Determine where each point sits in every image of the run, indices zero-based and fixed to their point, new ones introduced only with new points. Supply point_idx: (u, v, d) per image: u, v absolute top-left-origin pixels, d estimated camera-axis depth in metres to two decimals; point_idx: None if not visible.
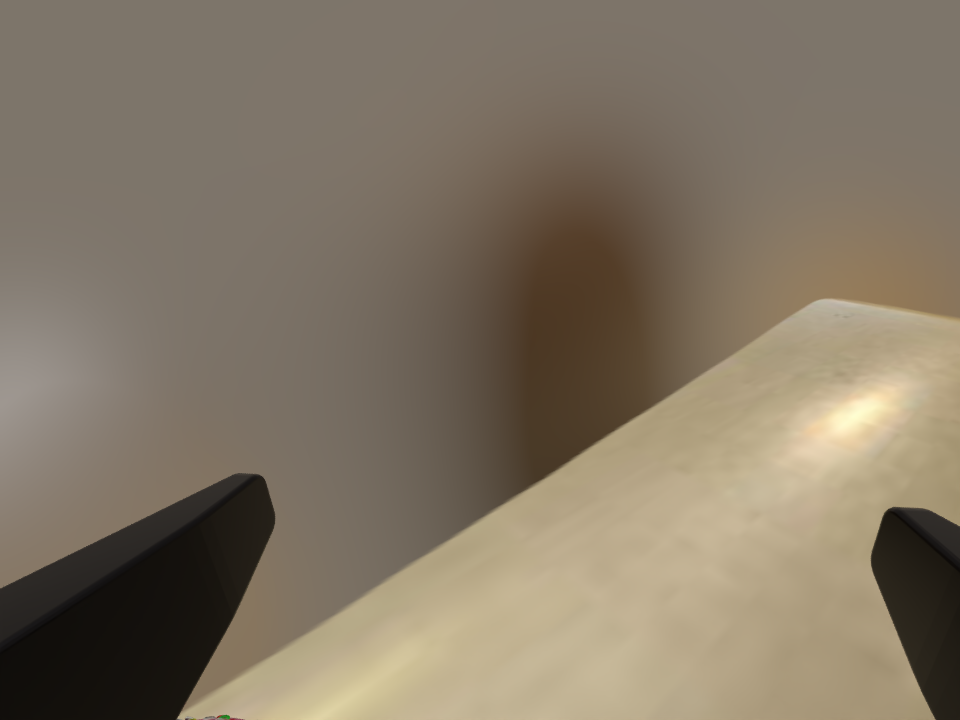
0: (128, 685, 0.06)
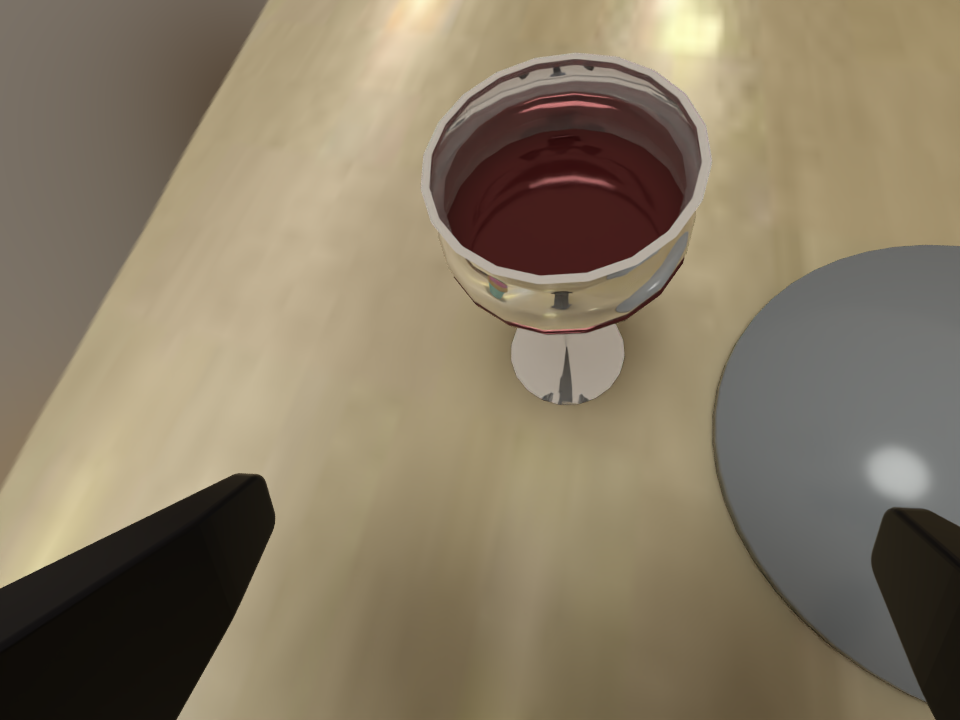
0: (128, 685, 0.06)
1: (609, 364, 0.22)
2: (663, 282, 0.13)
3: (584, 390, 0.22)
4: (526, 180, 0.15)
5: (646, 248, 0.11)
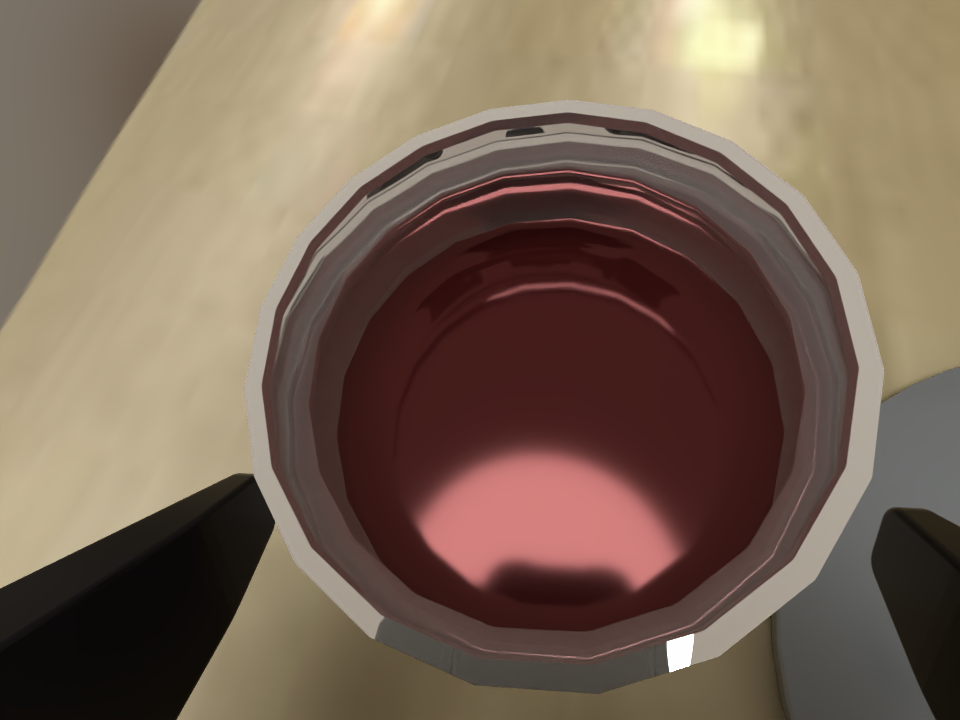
0: (128, 685, 0.06)
1: None
2: None
3: None
4: (484, 313, 0.09)
5: (740, 610, 0.04)
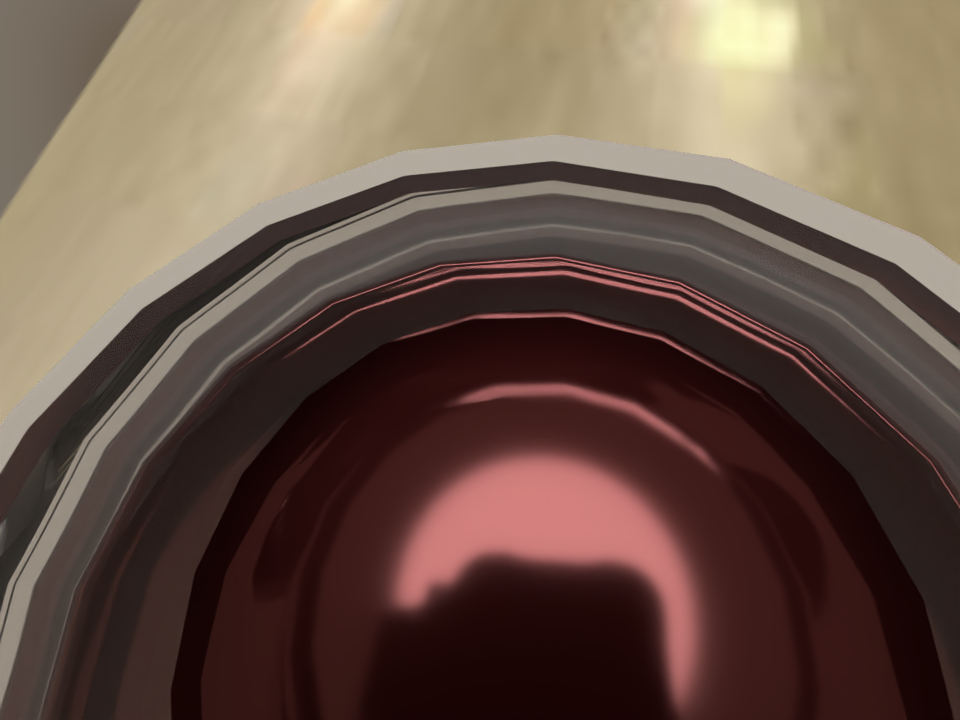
0: None
1: None
2: None
3: None
4: (423, 473, 0.05)
5: None
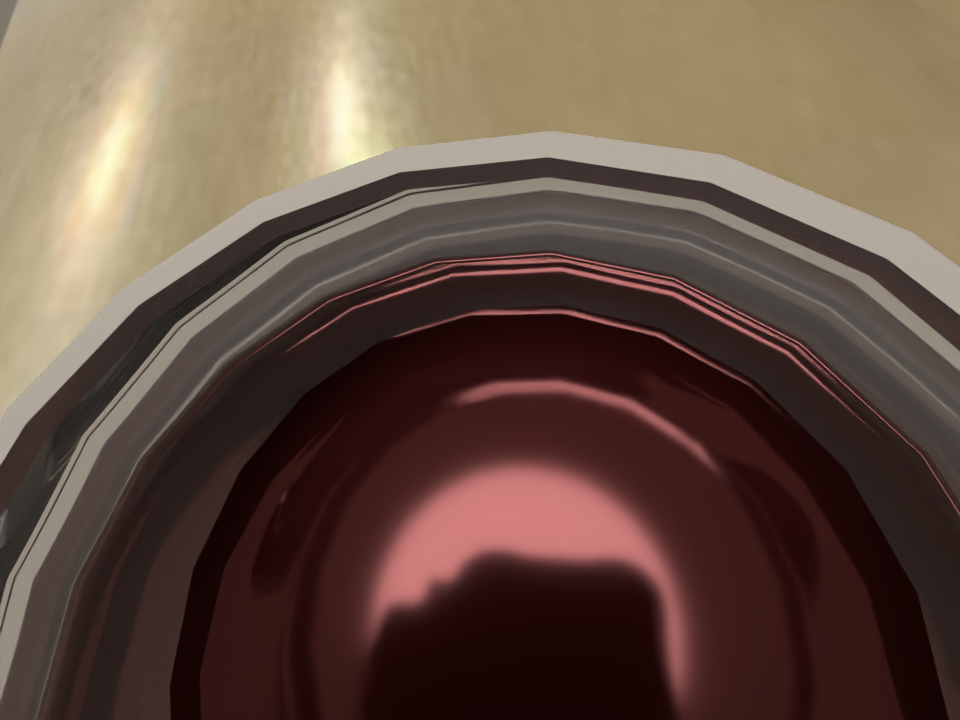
0: None
1: None
2: None
3: None
4: (419, 468, 0.05)
5: None
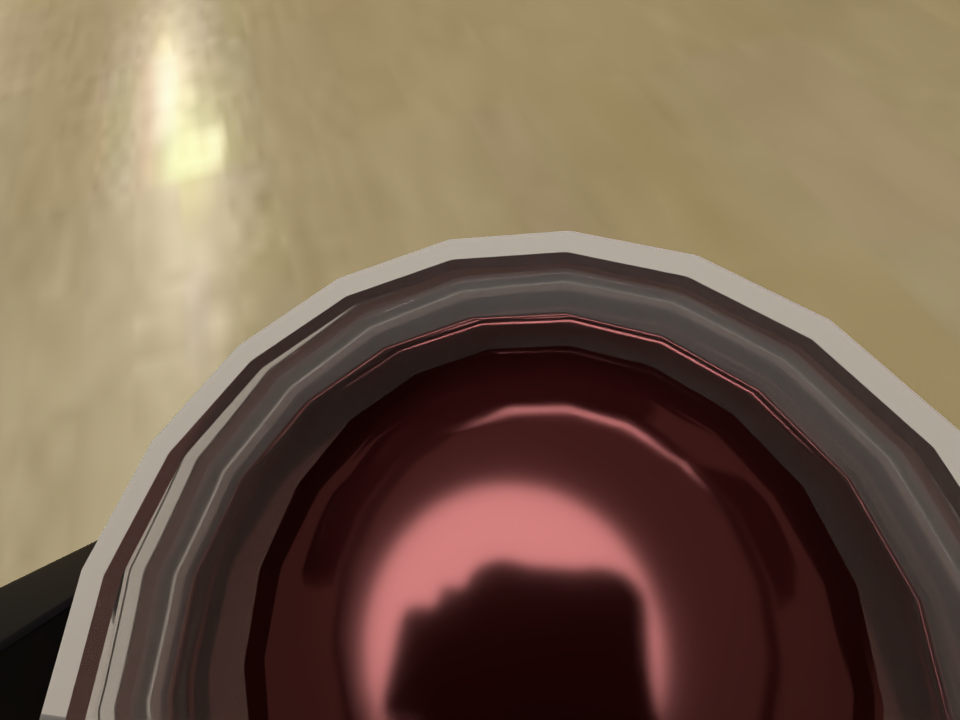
0: None
1: None
2: None
3: None
4: (452, 484, 0.06)
5: None
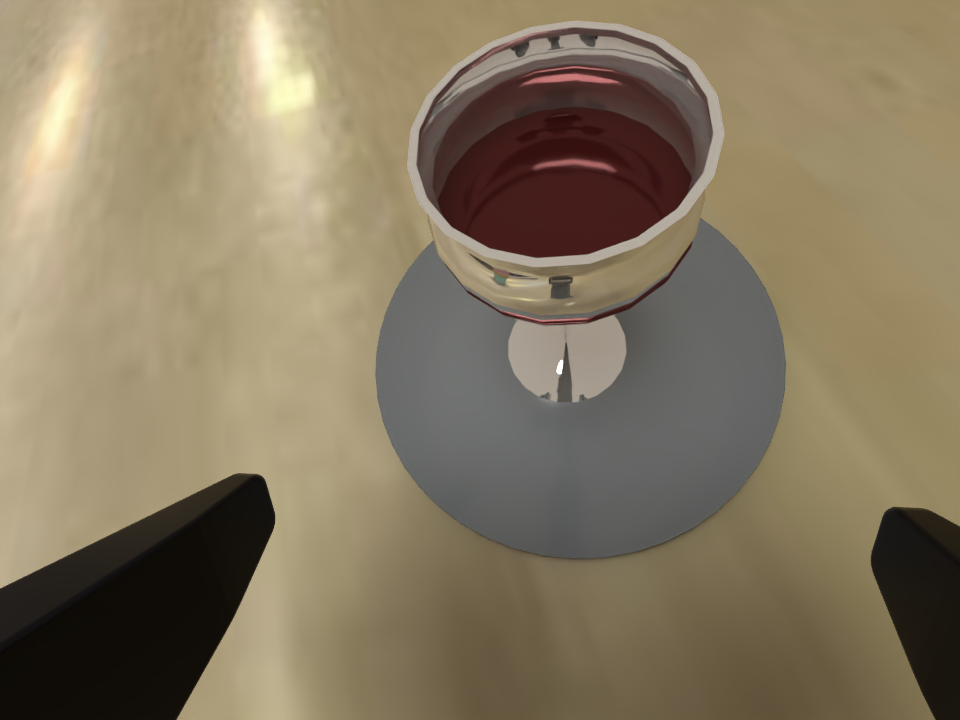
0: (128, 685, 0.06)
1: (610, 360, 0.21)
2: (670, 267, 0.12)
3: (584, 388, 0.21)
4: (523, 161, 0.14)
5: (653, 227, 0.10)
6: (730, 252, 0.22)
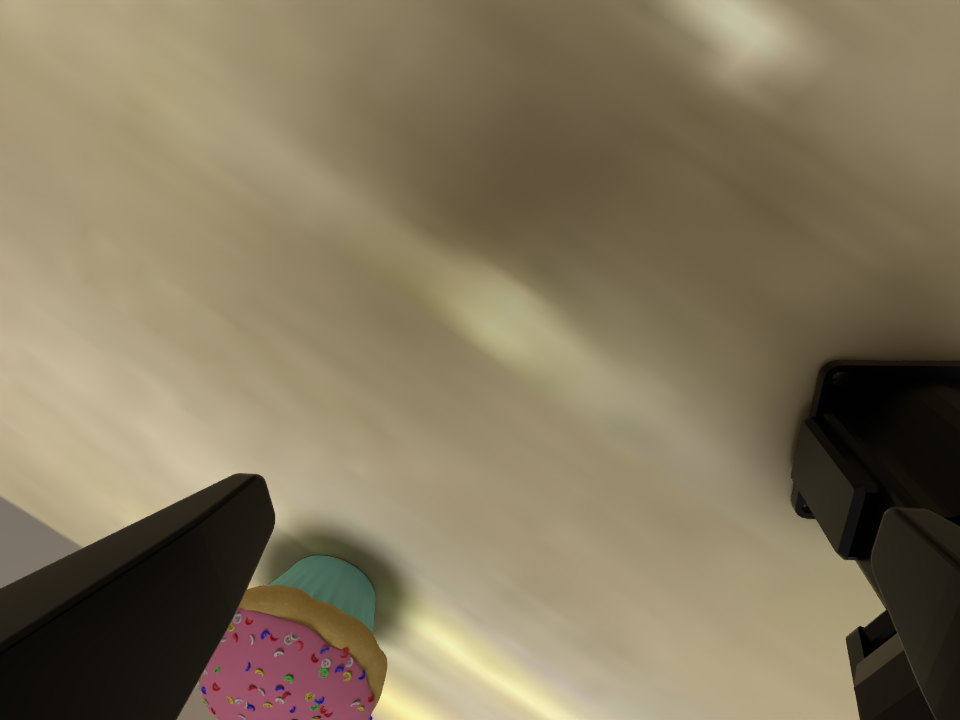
0: (128, 685, 0.06)
1: None
2: None
3: None
4: None
5: None
6: None
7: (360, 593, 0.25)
